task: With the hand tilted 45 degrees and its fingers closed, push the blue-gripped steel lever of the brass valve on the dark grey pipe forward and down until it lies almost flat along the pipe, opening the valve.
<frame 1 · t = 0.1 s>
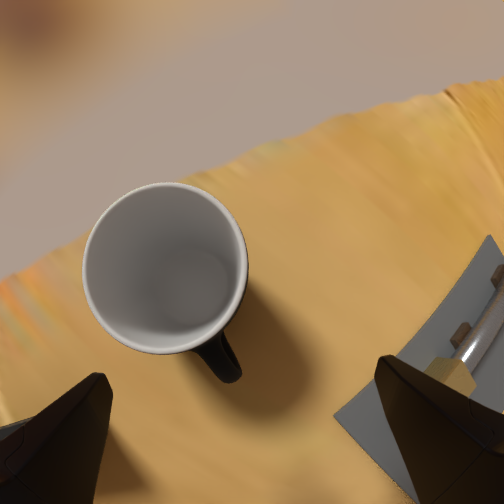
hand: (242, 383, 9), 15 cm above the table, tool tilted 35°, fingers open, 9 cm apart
mug: (200, 303, 24), on the table
nameplate: (30, 426, 20), on the table
valve pipe: (492, 366, 20), on the gray mounting plate, point 3 cm above the table
gray mounting plate: (424, 388, 22), on the table
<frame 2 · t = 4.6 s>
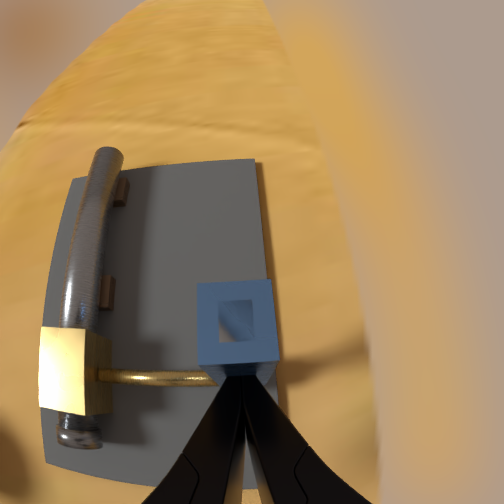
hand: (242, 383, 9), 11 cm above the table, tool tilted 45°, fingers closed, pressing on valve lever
valve pipe: (132, 278, 19), on the gray mounting plate, point 3 cm above the table
valve lever: (241, 363, 12), point 8 cm above the table, hinge at 5.5°, touching gripper
gray mounting plate: (94, 375, 18), on the table
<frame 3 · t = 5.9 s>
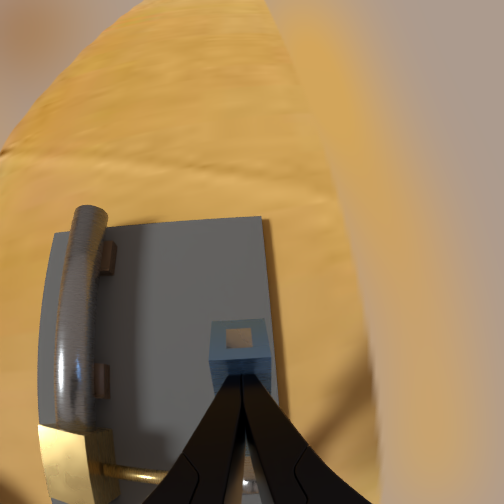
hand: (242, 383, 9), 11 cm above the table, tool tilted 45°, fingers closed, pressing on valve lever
valve pipe: (127, 375, 16), on the gray mounting plate, point 3 cm above the table
valve lever: (247, 438, 11), point 6 cm above the table, hinge at 43.2°, touching gripper
gray mounting plate: (97, 457, 15), on the table
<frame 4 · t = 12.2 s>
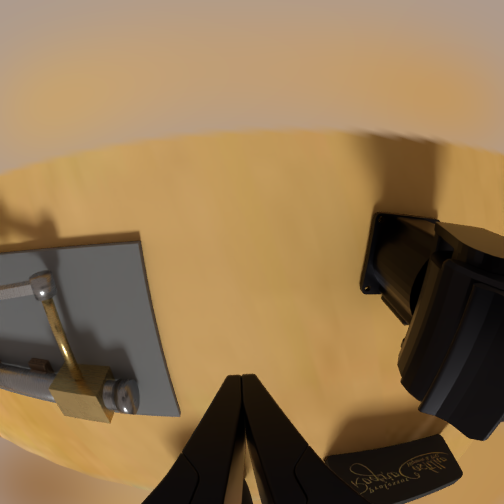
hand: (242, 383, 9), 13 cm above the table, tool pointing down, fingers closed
mug: (220, 472, 32), on the table
nameplate: (387, 448, 33), on the table
valve pipe: (19, 352, 20), on the gray mounting plate, point 3 cm above the table
gray mounting plate: (94, 374, 24), on the table
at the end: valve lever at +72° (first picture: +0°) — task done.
